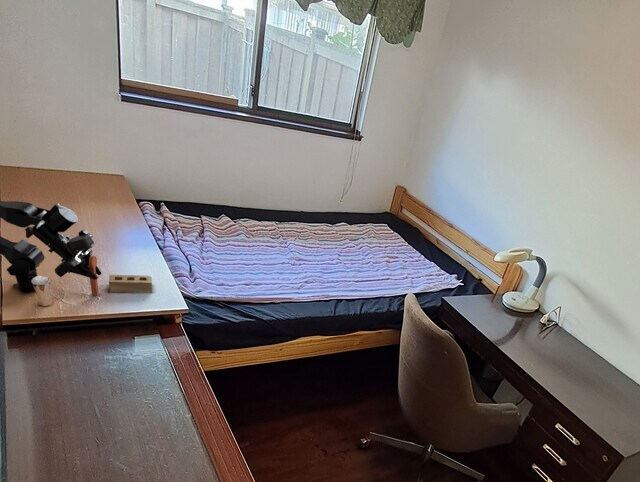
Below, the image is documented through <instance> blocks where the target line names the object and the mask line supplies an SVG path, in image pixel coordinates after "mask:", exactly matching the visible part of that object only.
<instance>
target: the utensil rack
mask: <svg viewBox="0 0 640 482" xmlns="http://www.w3.org/2000/svg"><path fill="white" fill-rule="evenodd" d="M108 288H109V293H135V294H136V293H137V294H138V293H139V294H140V293H141V294H142V293H145V294H146V293H147V294H148V293H150V294H151V293H153V279H152V275H140V274H136V275H135V274H134V275H133V274H109V278H108Z"/></svg>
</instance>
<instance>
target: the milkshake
mask: <svg viewBox="0 0 640 482" xmlns="http://www.w3.org/2000/svg"><path fill="white" fill-rule="evenodd" d="M31 282H32V284H33V287H34V289H35V291H34V292H35V294H36V298H37V300H38V303H39V305H40V306H43V307H48V306H51V305H52V304H53V297H52V288H51V279H50V277H47V276H44V275H38V276H37V277H34V278H33V279H32V281H31Z"/></svg>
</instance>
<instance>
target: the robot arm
mask: <svg viewBox="0 0 640 482" xmlns="http://www.w3.org/2000/svg"><path fill="white" fill-rule="evenodd" d="M0 219H2V220H3V221H5V222H6V223H8V224H9V225H10V224H11V225H12V226H16V227H19V228H24V231H25V238H26V239H30V238H31V237H32V236H34V237H35V238H36V239H38V240H39V241H40V242H41V243H43V244H44V245H45V246H46V247H48V250H47V251H48V252H49V253H50V254H52V253H53V252H54V253H55V254H56V255H57V256H59V258H61V259H60V262H61V263H59V264H58V265H57V266H56V267H55V268H54V274H56V275H57V276H58V277H59V278H62V277H64V276H65V275H66V274H67V273H68V274H70V273H72V274H75V275H79V276H82V277H85V278H89V279H90V278H92V279H95V280H96V279H97V280H98V279H99V276H101V275H102V271H101V269H100V268H99V267H98V264H97V265H96V268H95V269H96V274H95V273H94V272H93V271H91V270H90V269H89V268H88V266H89V258H90V256H93V250H92V248H93V247H94V246H95V245H96V243H95V241H94V240H93V236H94V235H93V234H92V233H90V232H88V230H87V229H81V230H80V231H78V235H76V236H74V237H72V236H71V235H70V234H66V235H64V234H63V233H65V232H67V231H68V230H69V229H70V228H72V227H73V226H74V225H75V224H76V223H78V222H79V218H78V215H77V214H76V212H75V211H74V210H72V209H70V208H68V207H66V206H65V205H64V206H62V205H60V203H58V202H57V203H55V204H54V205H53V206H51V208H50V209H46V208H42V207H38V206H36V205H35V204H33V203H31V202H28V201H27V202H26V201H18V200H11V201H10V200H7V201H5V200H0ZM42 221H43V222H42ZM88 250H89V251H88ZM0 255H1V256H3V257H4V258H5V259H6V260H7V262H8V263H9V264H11V265H10V266H8V267H7V268H6V271H7V273H8V275H10V276H14V277H15V281H16V283H13V284H12V286H13V287H14V288H15V289H16V290H18V291H19V292H20V293H22V294H24V295H25V294H29V293H33V292H35V289H34V287H33V284H32V282H31V281H32V279H33V278H34V277H37V276H39V274H38V270H37V268H38V267H40V265H41V264H42V263H43V262H44V261H45V254H44V253H43V251H42V250H41V249H40V248H38V245H35V244H32V243H30V242H28V241H27V240H25V239H21V240H19V241H18V242H16V241H11V240H9V239H7V238H5V237H3V236H1V235H0Z"/></svg>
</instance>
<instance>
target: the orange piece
mask: <svg viewBox="0 0 640 482" xmlns="http://www.w3.org/2000/svg"><path fill="white" fill-rule="evenodd" d="M96 265H97V266H98V258H97V256H96V255H92V256H90V258H89V266H88V268H89V269H90V270H91V271H93V272H94V273H95V274H96V269H95V268H96ZM96 275H97V274H96ZM89 283H90V290H91V295H92V296H98V295H99V294H100V291H99V284H98V279H96V280H95V279H92V278H89Z"/></svg>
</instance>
